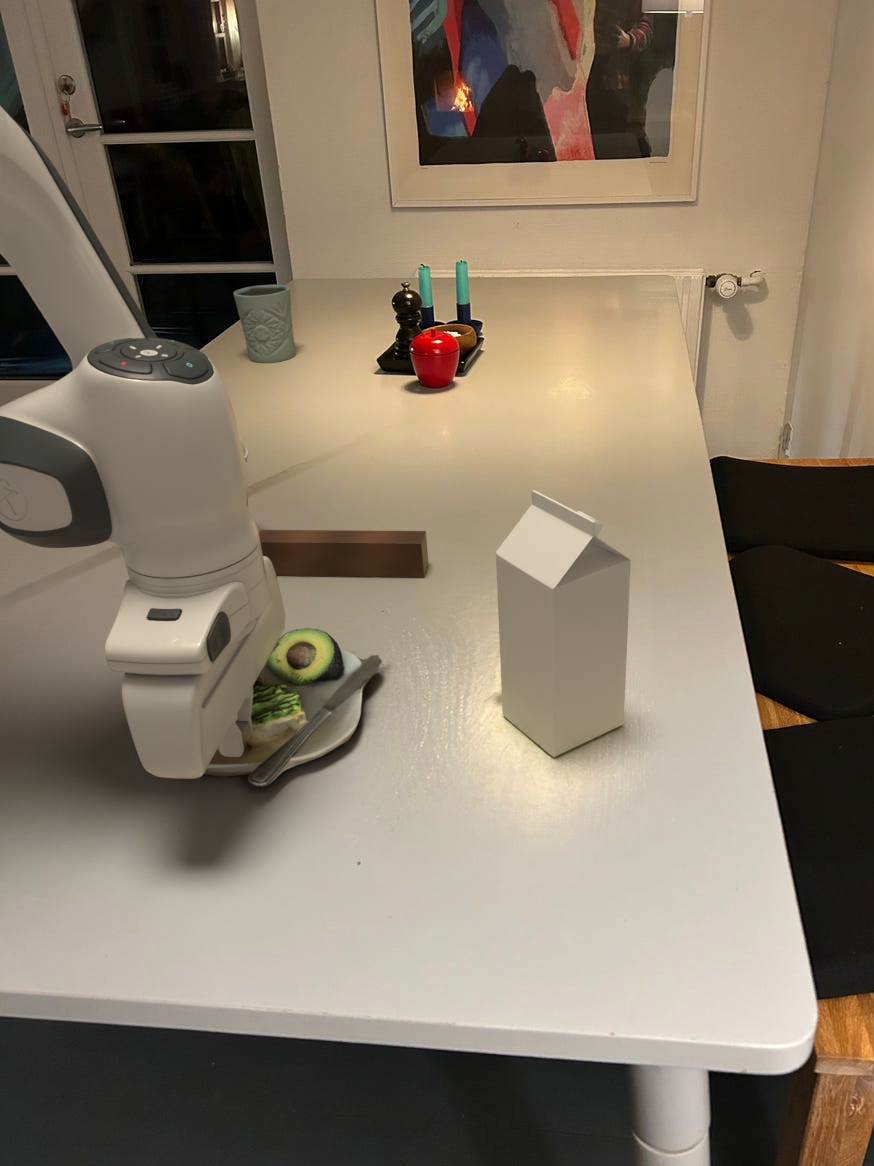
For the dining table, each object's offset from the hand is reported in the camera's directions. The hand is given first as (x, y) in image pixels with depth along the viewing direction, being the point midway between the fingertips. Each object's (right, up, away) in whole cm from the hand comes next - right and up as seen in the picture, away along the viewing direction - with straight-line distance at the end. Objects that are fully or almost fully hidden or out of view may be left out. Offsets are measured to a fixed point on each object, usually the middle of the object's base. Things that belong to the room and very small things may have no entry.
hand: (237, 745), depth 72 cm
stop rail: (+4, +16, +30) cm, 34 cm away
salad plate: (+1, +2, +8) cm, 8 cm away
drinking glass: (-21, +61, +106) cm, 124 cm away
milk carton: (+25, +1, +5) cm, 26 cm away
